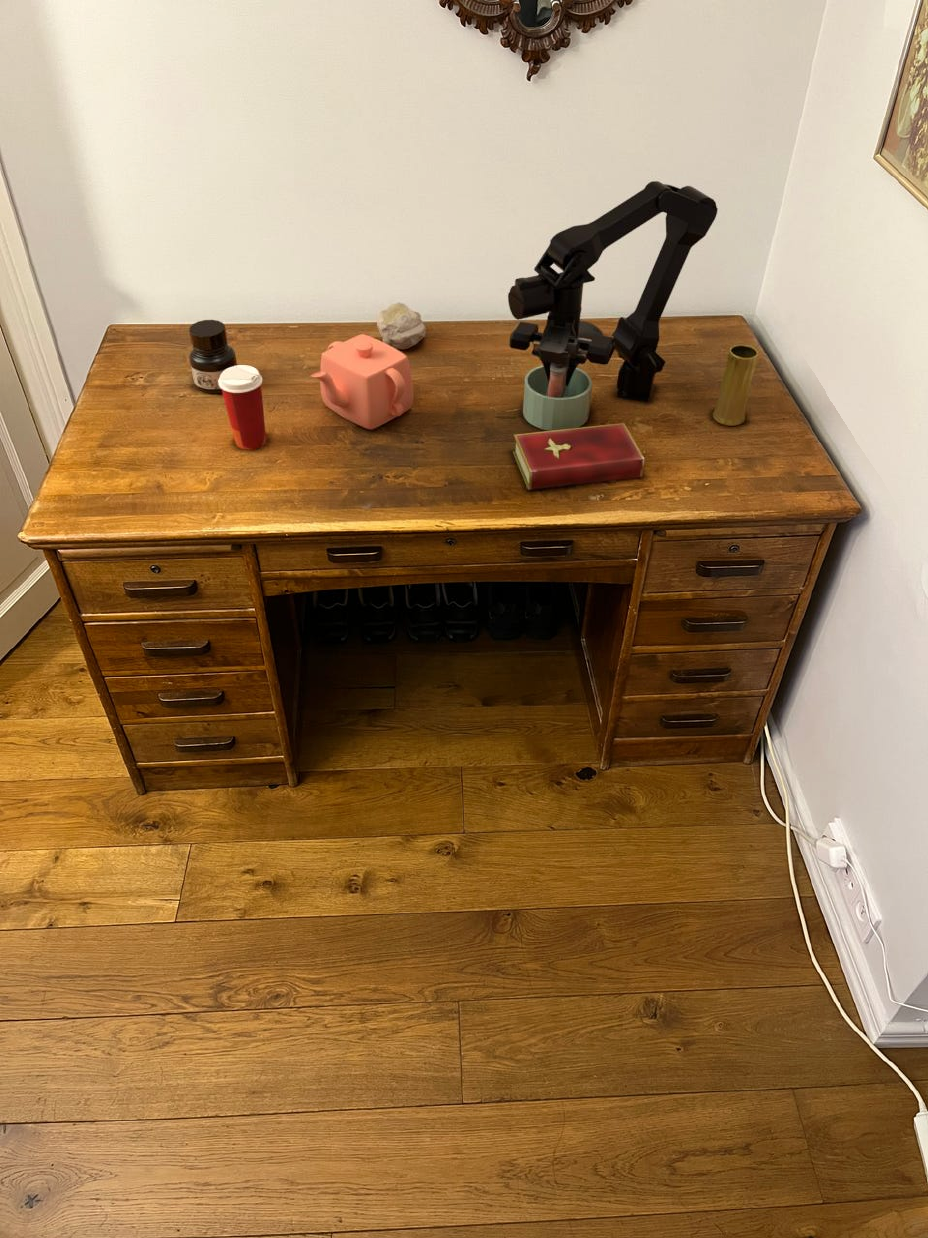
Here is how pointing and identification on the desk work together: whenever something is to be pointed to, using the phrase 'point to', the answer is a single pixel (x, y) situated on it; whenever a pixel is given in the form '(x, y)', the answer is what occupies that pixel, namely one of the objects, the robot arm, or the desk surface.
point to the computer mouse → (588, 330)
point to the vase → (735, 385)
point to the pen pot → (556, 401)
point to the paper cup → (244, 405)
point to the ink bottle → (210, 354)
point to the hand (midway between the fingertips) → (558, 383)
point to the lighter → (557, 380)
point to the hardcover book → (578, 456)
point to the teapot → (365, 381)
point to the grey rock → (400, 326)
